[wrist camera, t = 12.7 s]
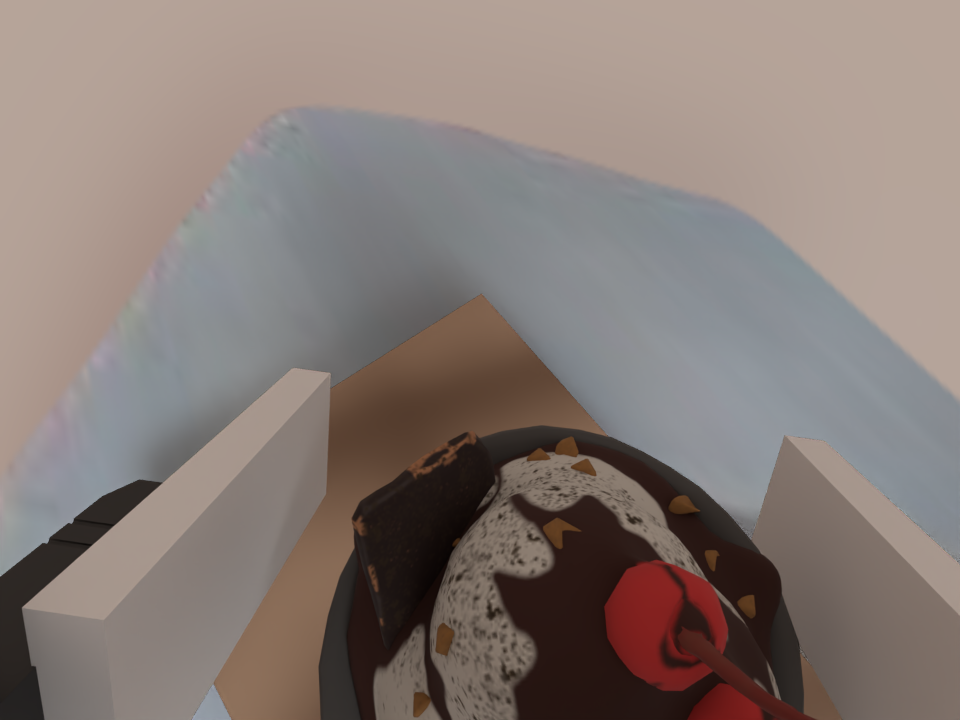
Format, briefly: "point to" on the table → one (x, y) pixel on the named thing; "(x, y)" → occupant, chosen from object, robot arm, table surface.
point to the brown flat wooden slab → (378, 461)
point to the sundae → (554, 593)
